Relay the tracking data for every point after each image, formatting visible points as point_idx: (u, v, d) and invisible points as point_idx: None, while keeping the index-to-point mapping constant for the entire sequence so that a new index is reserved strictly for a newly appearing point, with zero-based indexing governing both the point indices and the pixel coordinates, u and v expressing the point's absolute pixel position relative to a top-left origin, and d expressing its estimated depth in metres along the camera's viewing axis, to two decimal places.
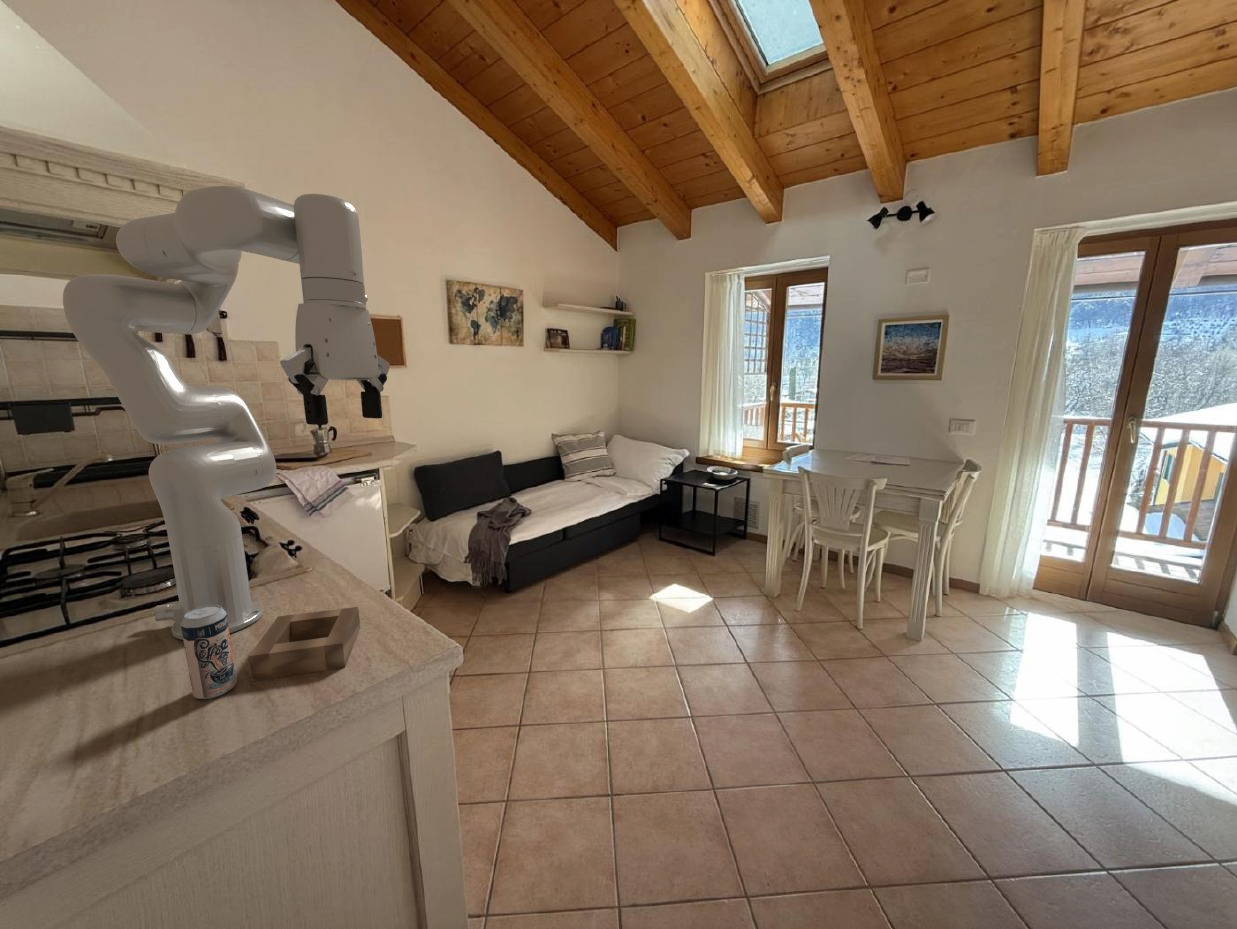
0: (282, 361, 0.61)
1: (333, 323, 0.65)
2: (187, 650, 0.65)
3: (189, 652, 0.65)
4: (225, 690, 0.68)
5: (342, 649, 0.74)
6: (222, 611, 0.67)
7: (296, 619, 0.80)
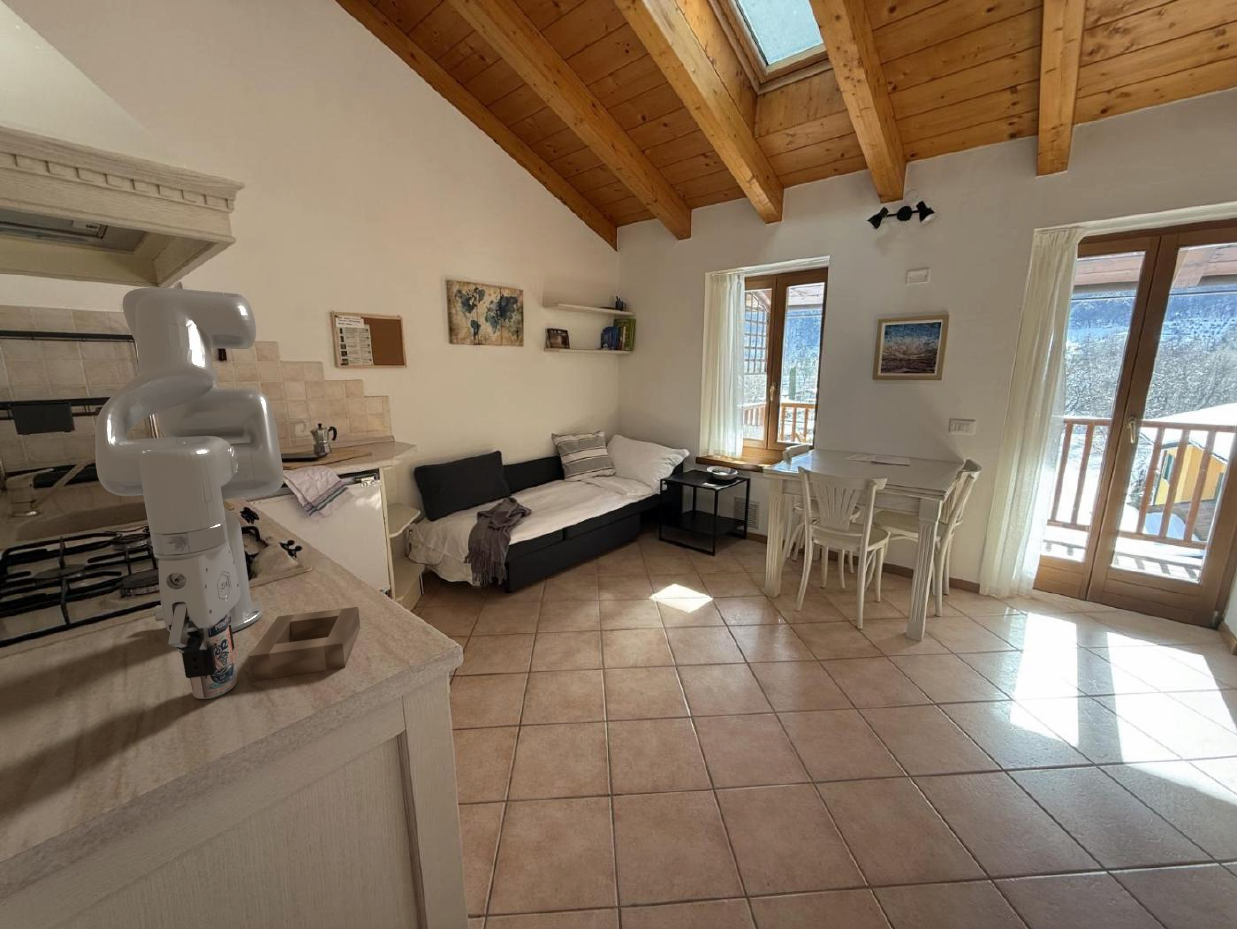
0: None
1: None
2: None
3: None
4: (225, 690, 0.68)
5: (342, 649, 0.74)
6: None
7: (296, 619, 0.80)
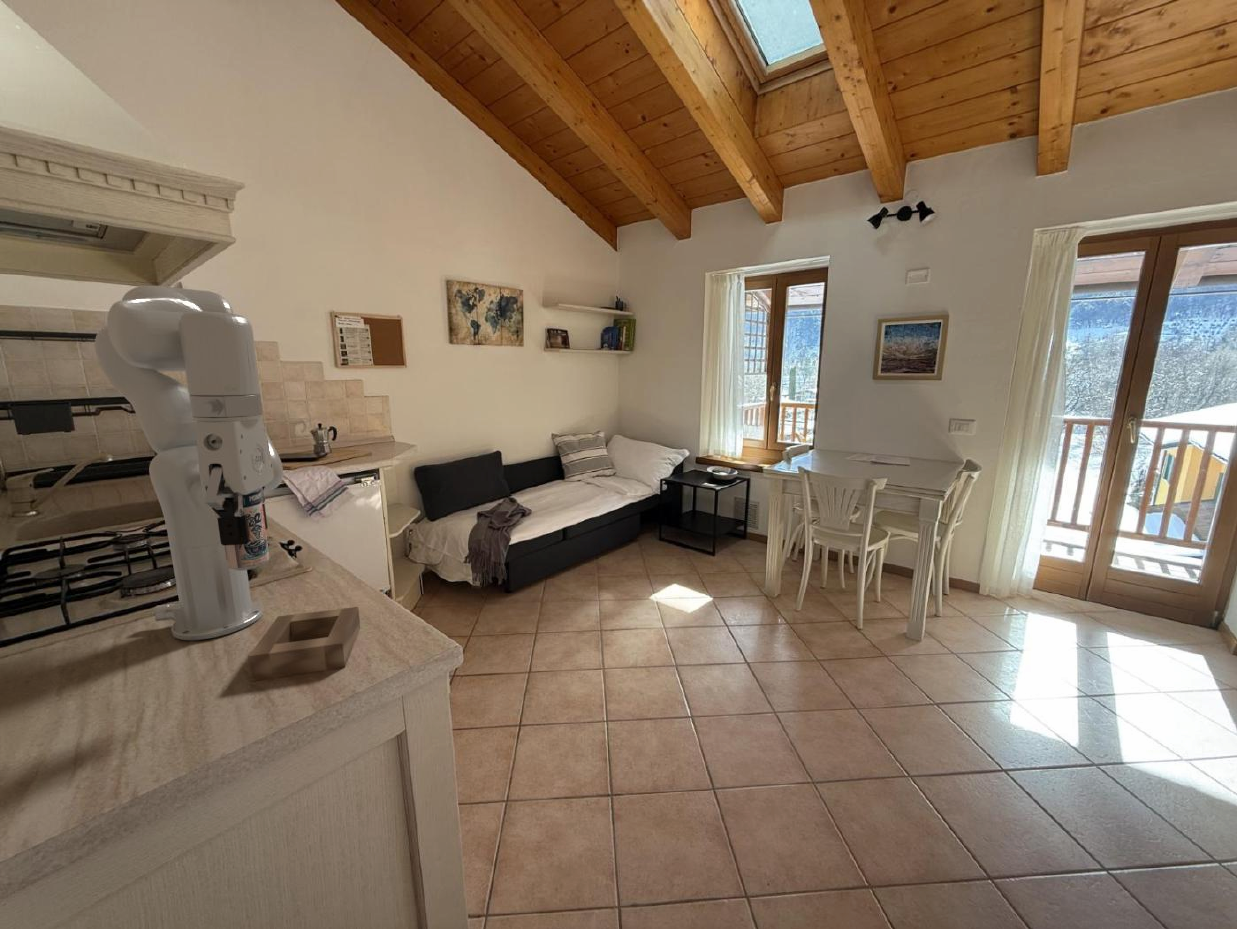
0: None
1: None
2: None
3: None
4: (258, 563, 0.69)
5: (342, 649, 0.74)
6: None
7: (296, 619, 0.80)
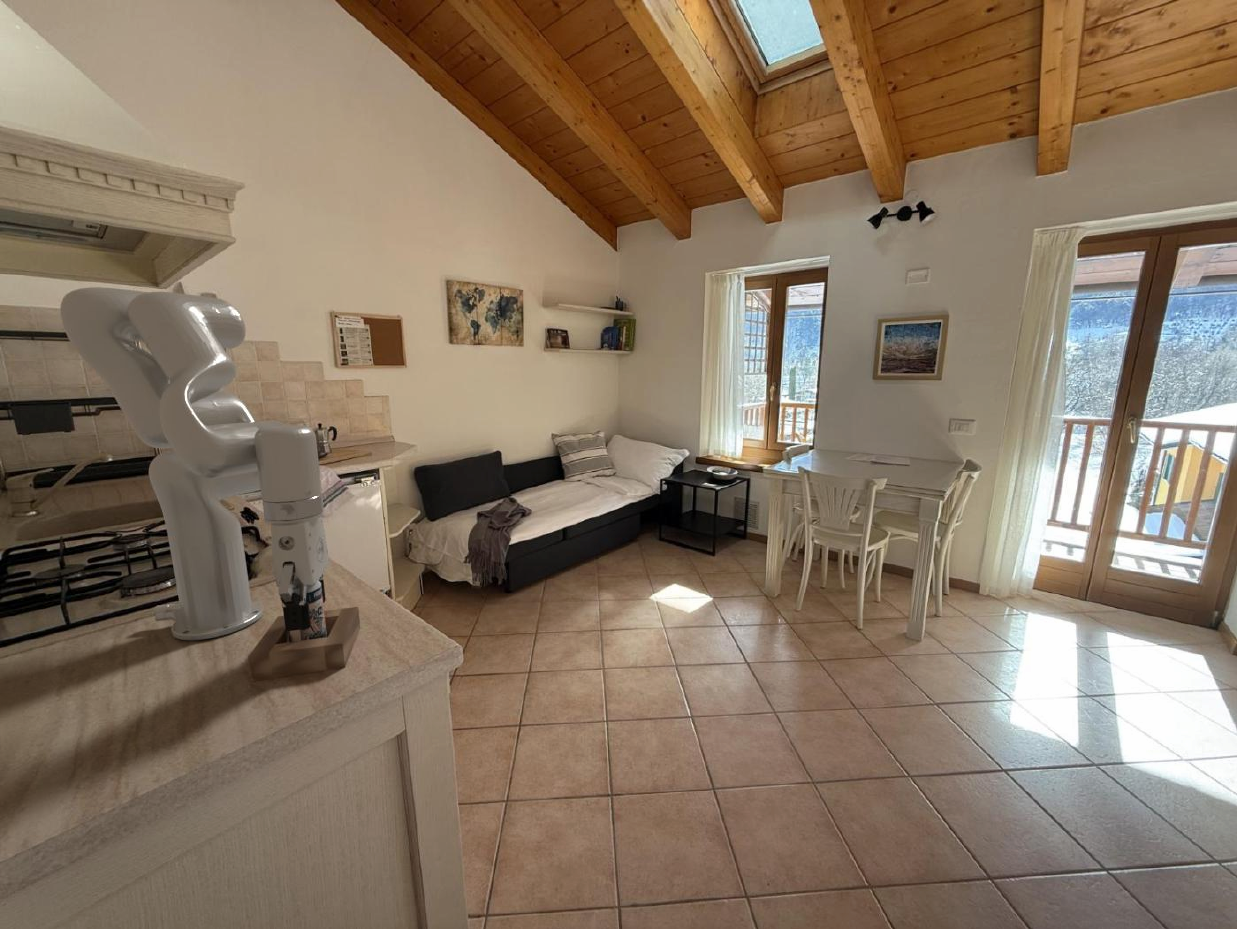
0: None
1: None
2: None
3: None
4: None
5: (342, 649, 0.74)
6: (318, 581, 0.77)
7: None
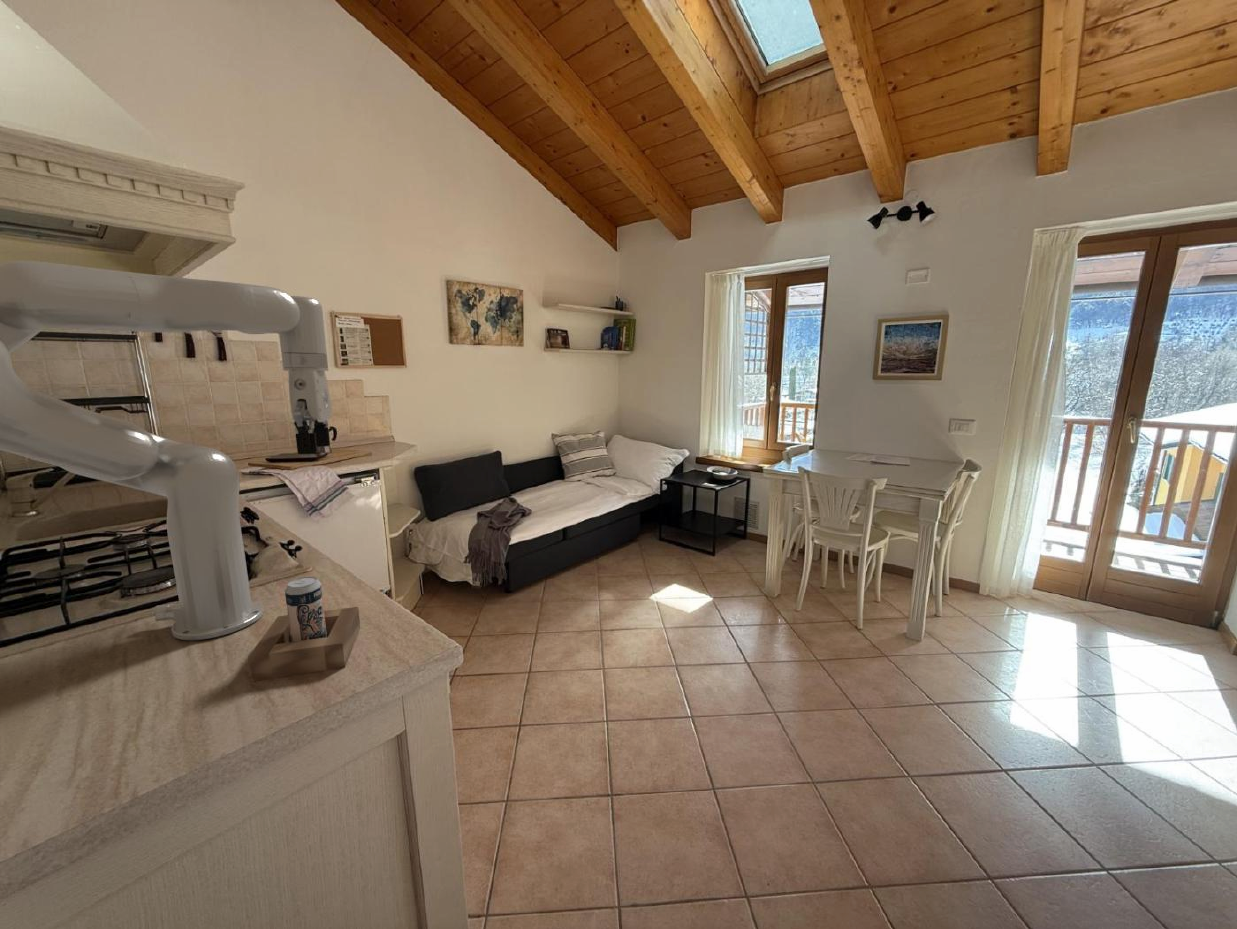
0: None
1: None
2: (290, 615, 0.75)
3: (292, 616, 0.75)
4: None
5: (342, 649, 0.74)
6: (318, 581, 0.77)
7: None
